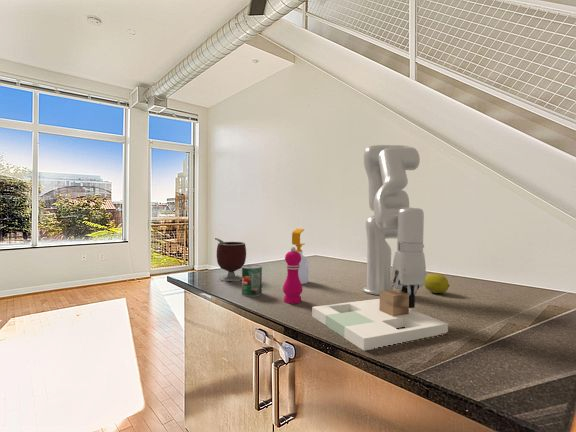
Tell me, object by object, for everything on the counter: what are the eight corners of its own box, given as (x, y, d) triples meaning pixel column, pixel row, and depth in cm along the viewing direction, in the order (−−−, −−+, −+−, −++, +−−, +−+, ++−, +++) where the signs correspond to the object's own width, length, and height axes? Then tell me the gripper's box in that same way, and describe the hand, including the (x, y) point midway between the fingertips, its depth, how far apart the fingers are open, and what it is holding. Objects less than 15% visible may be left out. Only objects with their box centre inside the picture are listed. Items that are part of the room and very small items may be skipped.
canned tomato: (265, 293, 132) (265, 265, 131) (253, 297, 125) (254, 268, 125) (249, 290, 136) (250, 263, 135) (237, 294, 129) (237, 266, 129)
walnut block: (394, 308, 104) (395, 289, 104) (408, 314, 98) (409, 294, 98) (379, 310, 101) (379, 291, 101) (392, 316, 96) (393, 296, 96)
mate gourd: (236, 274, 166) (236, 235, 166) (251, 279, 156) (252, 237, 155) (208, 278, 156) (208, 236, 156) (222, 284, 146) (222, 239, 145)
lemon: (453, 294, 133) (453, 274, 133) (443, 297, 129) (444, 277, 128) (428, 288, 142) (428, 270, 142) (418, 291, 137) (418, 272, 137)
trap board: (383, 306, 115) (383, 298, 115) (447, 334, 91) (448, 323, 91) (312, 316, 104) (312, 306, 104) (363, 350, 80) (363, 338, 79)
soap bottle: (311, 281, 153) (312, 228, 152) (301, 285, 145) (302, 230, 145) (295, 279, 158) (295, 228, 157) (284, 282, 150) (285, 229, 149)
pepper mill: (300, 304, 117) (301, 248, 116) (280, 303, 118) (281, 247, 117) (303, 299, 124) (304, 246, 123) (284, 297, 125) (285, 245, 125)
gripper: (418, 245, 108) (417, 301, 109) (382, 247, 102) (381, 306, 103) (437, 248, 101) (436, 307, 102) (399, 250, 95) (398, 313, 96)
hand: (408, 306), depth 102 cm, fingers closed
